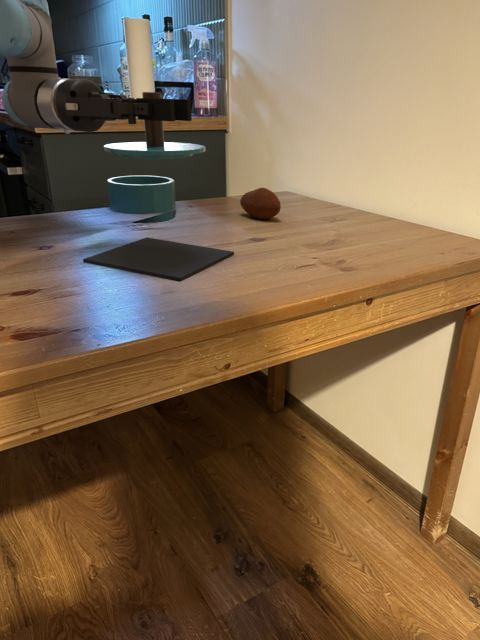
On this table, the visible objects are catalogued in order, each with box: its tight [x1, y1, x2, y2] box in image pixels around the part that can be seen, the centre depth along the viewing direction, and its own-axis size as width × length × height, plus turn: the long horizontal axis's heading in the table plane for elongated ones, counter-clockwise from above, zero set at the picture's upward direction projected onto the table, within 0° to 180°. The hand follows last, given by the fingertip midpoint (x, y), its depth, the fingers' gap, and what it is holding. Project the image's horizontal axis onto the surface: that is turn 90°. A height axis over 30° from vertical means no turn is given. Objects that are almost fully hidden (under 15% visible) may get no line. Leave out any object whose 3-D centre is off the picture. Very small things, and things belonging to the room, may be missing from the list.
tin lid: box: [103, 91, 206, 160], centre depth 72 cm, size 15×15×8 cm
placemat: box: [82, 237, 235, 282], centre depth 80 cm, size 18×16×1 cm
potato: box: [239, 187, 282, 220], centre depth 109 cm, size 6×12×6 cm, turn 47°
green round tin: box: [106, 175, 177, 224], centre depth 106 cm, size 14×14×8 cm
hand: (180, 110), depth 68 cm, fingers closed on tin lid, 3 cm apart
